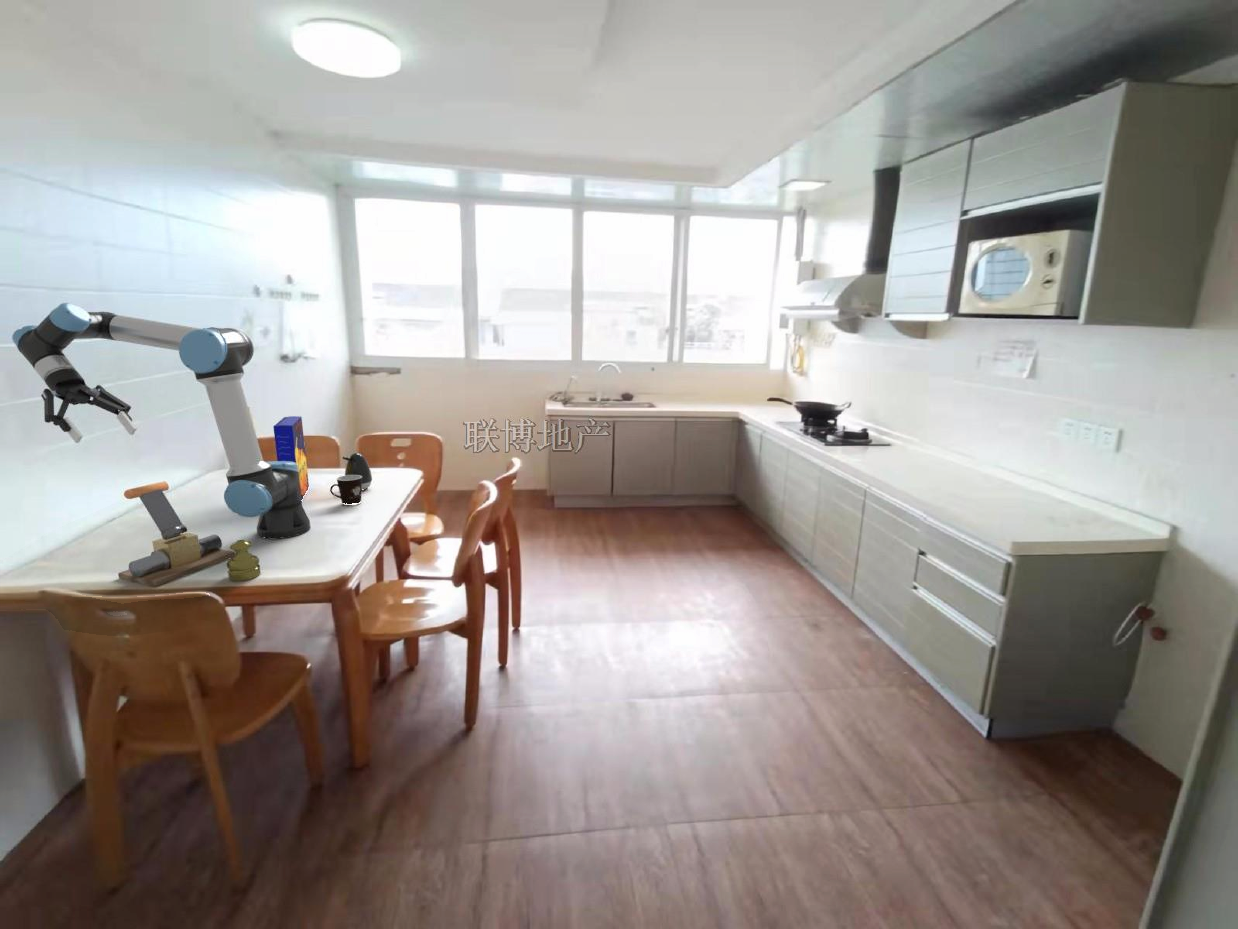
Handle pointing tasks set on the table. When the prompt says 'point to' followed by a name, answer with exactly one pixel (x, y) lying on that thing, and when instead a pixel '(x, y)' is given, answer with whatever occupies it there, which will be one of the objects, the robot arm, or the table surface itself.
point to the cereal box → (292, 446)
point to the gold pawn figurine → (242, 562)
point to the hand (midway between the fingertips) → (107, 435)
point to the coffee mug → (349, 488)
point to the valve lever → (159, 508)
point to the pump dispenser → (359, 468)
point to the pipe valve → (176, 559)
